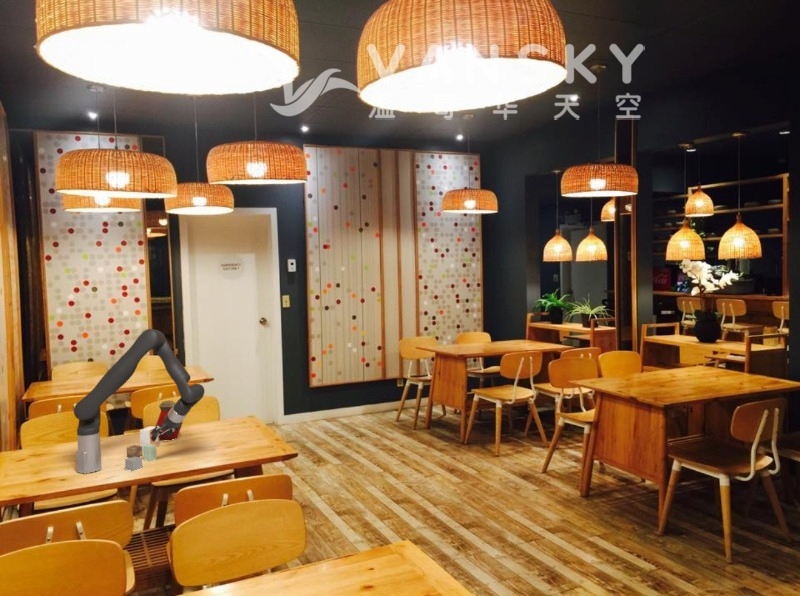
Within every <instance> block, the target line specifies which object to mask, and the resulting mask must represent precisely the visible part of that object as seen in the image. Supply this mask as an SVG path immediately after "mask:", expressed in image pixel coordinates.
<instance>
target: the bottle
mask: <svg viewBox="0 0 800 596" xmlns="http://www.w3.org/2000/svg"><path fill="white" fill-rule="evenodd" d="M175 404H176V402H175V401H173V400H165V401H162V402H161V403H160V404H159V406H158V407H159V409H160V413H159V416H158V419H157V422H156V424H155V426H157V425H159V426H161V425H162V424H163V423H164V418H165V416H166V415H167V414H168V412H169V411H170V410H171V408H172V407H173V406H174V405H175ZM181 428H182V425H181V426H180V428H179V429H178V430H175V431H174V432H172V434H171V435H170V436H169V437H167V435H166V432H167V431H166V432H165V433H163V434H160V435H159V440H160V441H161V440H171V441H173V440H172V439H174V440H176V439H177V438H178V436H179V432H181ZM161 432H163V430H162V429H161ZM158 434H159V433H158ZM175 438H176V439H175Z"/></svg>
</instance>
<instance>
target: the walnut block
mask: <svg viewBox="0 0 800 596" xmlns="http://www.w3.org/2000/svg"><path fill="white" fill-rule="evenodd" d="M140 456H142V457H144V454H143V450H142V446H140V445H137V444H133V445H131V446H127V447H126V458H127V457H128V458H127V459H129V458H132V457H139V458H141V457H140Z"/></svg>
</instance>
